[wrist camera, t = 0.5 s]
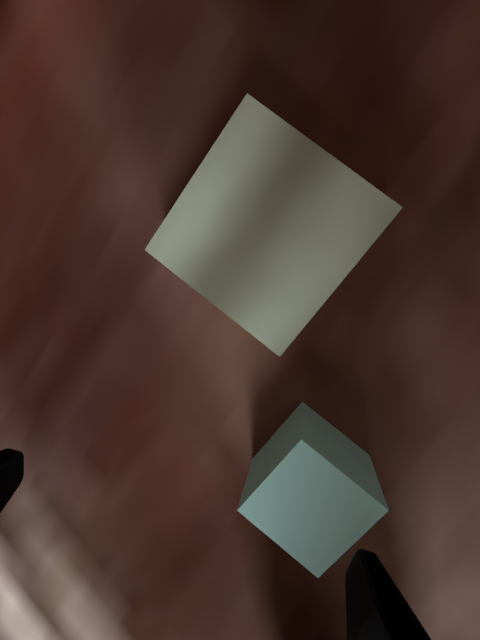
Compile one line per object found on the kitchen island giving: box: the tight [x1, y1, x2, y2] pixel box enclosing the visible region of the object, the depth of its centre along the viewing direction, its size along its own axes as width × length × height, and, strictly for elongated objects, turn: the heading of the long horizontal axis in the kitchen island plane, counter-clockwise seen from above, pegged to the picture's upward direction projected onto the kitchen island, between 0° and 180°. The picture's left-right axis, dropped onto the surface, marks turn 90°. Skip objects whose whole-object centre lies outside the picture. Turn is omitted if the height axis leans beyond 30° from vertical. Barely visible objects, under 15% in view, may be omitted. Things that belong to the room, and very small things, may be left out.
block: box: [237, 402, 389, 578], centre depth 19 cm, size 5×5×5 cm
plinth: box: [145, 94, 403, 357], centre depth 18 cm, size 9×9×3 cm
